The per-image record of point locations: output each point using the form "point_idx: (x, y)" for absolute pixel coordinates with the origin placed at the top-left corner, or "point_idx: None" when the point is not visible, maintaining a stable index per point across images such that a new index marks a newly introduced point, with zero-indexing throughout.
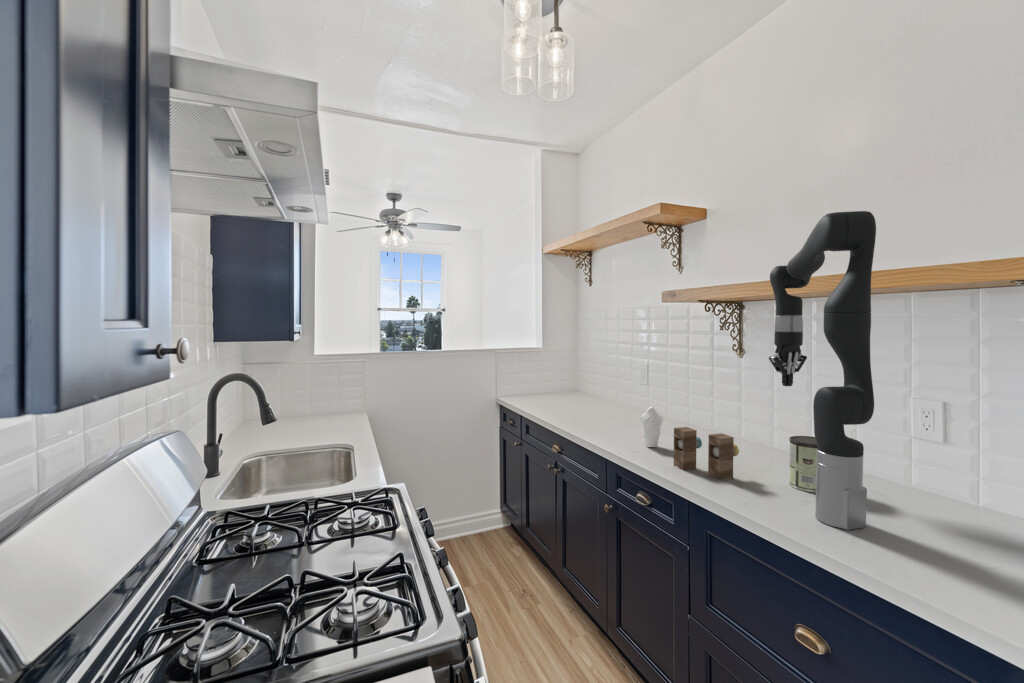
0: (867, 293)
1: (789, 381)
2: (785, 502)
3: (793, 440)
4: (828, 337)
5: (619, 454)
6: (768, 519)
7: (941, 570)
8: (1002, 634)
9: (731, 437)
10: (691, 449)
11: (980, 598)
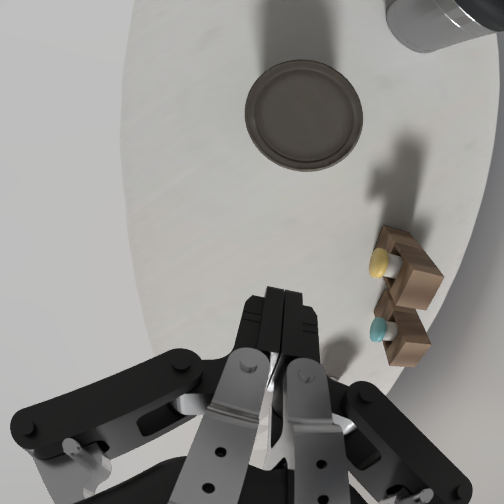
0: None
1: (293, 311)
2: (418, 104)
3: (357, 140)
4: None
5: (400, 373)
6: (486, 99)
7: None
8: None
9: (419, 270)
10: (404, 315)
11: None
